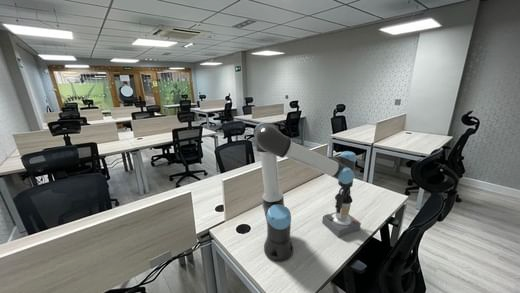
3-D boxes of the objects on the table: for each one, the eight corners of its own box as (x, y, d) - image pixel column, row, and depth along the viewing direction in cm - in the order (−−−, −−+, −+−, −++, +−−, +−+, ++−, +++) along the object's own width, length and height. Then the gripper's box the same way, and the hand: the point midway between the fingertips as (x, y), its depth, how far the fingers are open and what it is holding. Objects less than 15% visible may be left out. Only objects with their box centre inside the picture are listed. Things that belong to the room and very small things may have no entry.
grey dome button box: (338, 237, 114) (339, 228, 112) (322, 223, 127) (322, 214, 125) (359, 230, 120) (361, 221, 118) (342, 216, 132) (343, 208, 131)
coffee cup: (340, 225, 116) (342, 201, 112) (329, 215, 125) (331, 193, 120) (353, 221, 119) (356, 198, 115) (342, 212, 127) (344, 191, 123)
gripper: (346, 189, 103) (341, 224, 109) (358, 173, 122) (354, 204, 127) (331, 185, 107) (328, 219, 113) (345, 170, 126) (342, 200, 132)
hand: (342, 211), depth 120 cm, fingers open, 13 cm apart
